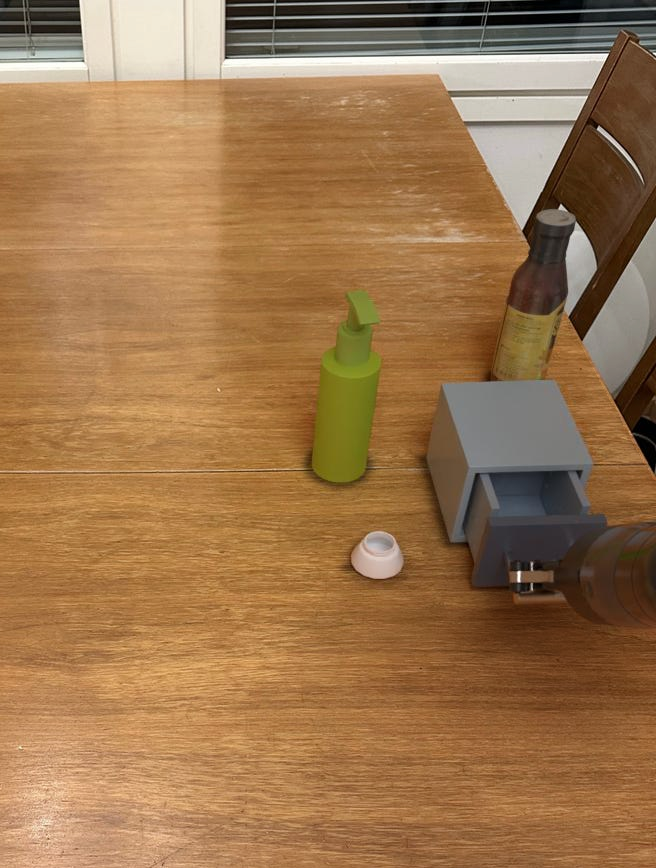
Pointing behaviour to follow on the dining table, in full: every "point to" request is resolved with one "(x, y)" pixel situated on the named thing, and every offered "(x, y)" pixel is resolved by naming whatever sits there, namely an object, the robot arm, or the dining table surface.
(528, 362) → the sauce bottle
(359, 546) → the white jar
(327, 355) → the soap dispenser
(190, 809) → the dining table surface
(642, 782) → the dining table surface
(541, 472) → the compartment
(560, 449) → the drawer unit
